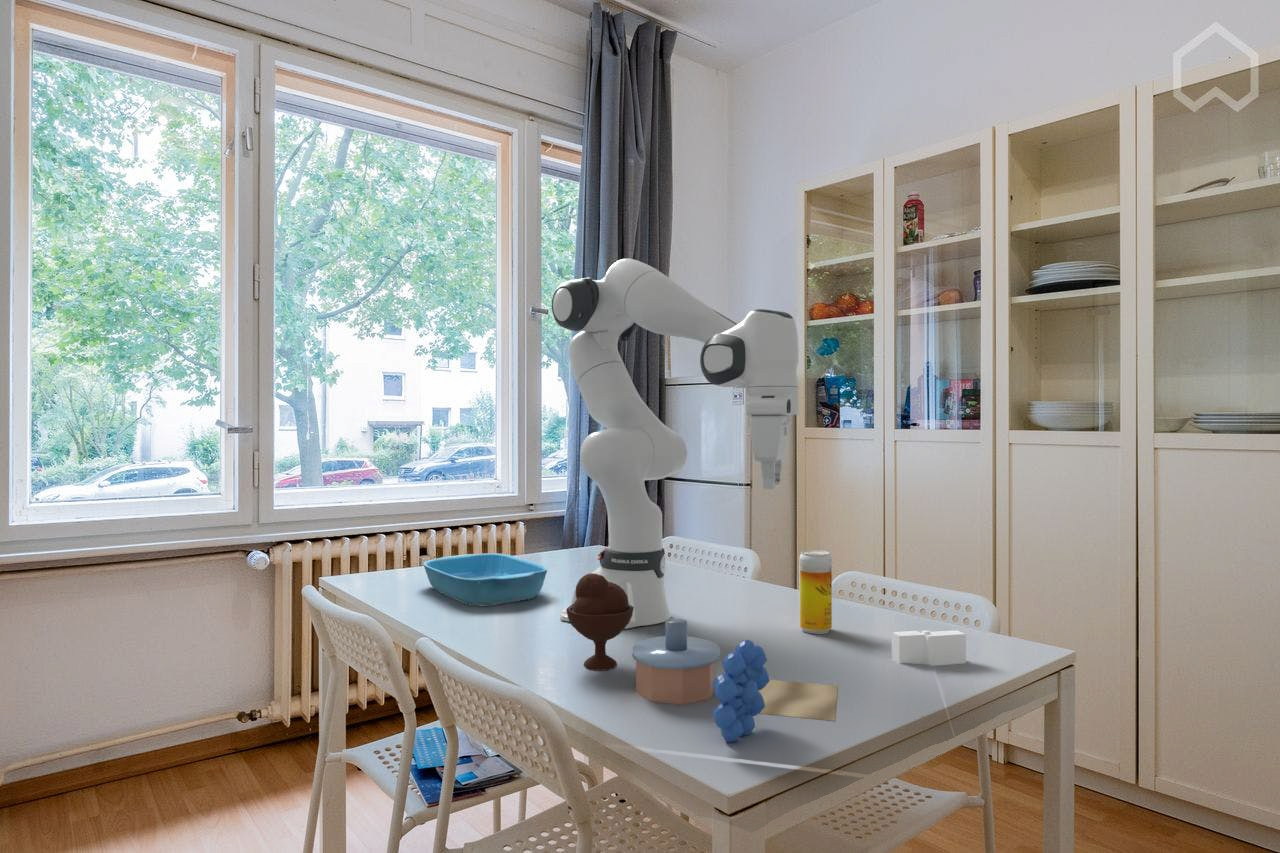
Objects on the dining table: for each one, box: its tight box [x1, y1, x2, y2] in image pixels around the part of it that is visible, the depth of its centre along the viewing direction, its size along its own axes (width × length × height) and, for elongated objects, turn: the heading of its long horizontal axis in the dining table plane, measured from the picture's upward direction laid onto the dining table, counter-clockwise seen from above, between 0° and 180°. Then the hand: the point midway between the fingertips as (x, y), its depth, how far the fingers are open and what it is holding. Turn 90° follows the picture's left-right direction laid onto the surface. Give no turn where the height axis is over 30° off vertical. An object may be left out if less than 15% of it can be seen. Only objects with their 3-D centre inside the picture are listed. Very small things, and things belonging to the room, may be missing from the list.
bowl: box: [635, 660, 717, 705], centre depth 113 cm, size 11×11×6 cm
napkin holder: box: [891, 629, 967, 667], centre depth 127 cm, size 15×11×6 cm
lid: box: [632, 618, 721, 669], centre depth 113 cm, size 13×13×5 cm
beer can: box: [798, 549, 833, 635], centre depth 146 cm, size 6×6×15 cm
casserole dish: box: [422, 552, 548, 606], centre depth 180 cm, size 37×22×7 cm, turn 35°
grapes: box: [712, 639, 771, 744], centre depth 97 cm, size 12×7×12 cm, turn 143°
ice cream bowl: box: [566, 572, 634, 671], centre depth 126 cm, size 11×11×15 cm
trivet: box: [758, 679, 839, 722], centre depth 109 cm, size 14×14×1 cm
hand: (772, 486), depth 129 cm, fingers open, 8 cm apart
